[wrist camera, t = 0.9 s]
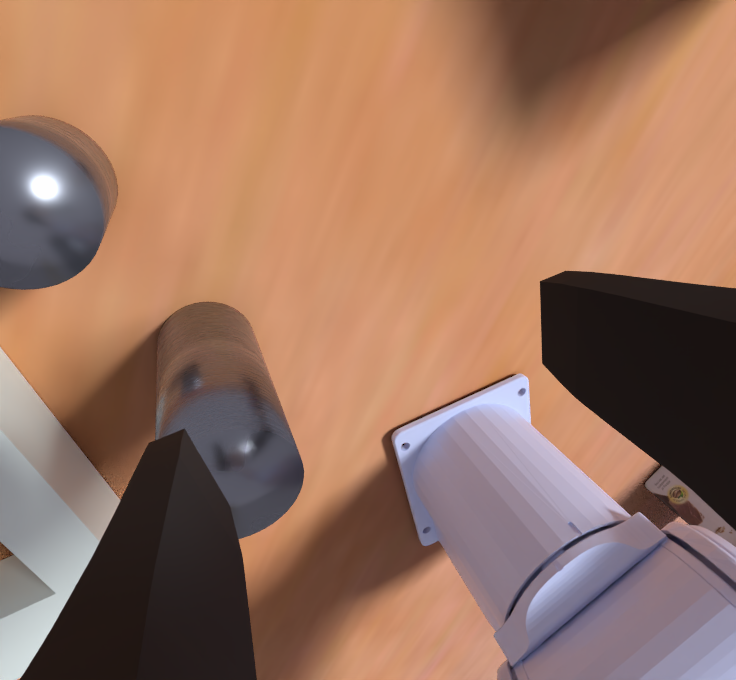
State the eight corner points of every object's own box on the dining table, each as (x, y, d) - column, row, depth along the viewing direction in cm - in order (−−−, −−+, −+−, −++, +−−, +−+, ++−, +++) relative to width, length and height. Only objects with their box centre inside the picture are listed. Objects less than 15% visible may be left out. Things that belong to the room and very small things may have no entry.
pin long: (267, 364, 20) (320, 502, 13) (182, 398, 19) (192, 563, 12) (235, 288, 18) (278, 405, 11) (139, 323, 17) (124, 470, 10)
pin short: (138, 218, 16) (130, 259, 12) (24, 255, 15) (-22, 310, 11) (79, 100, 14) (48, 104, 10) (-56, 135, 13) (-143, 154, 9)
